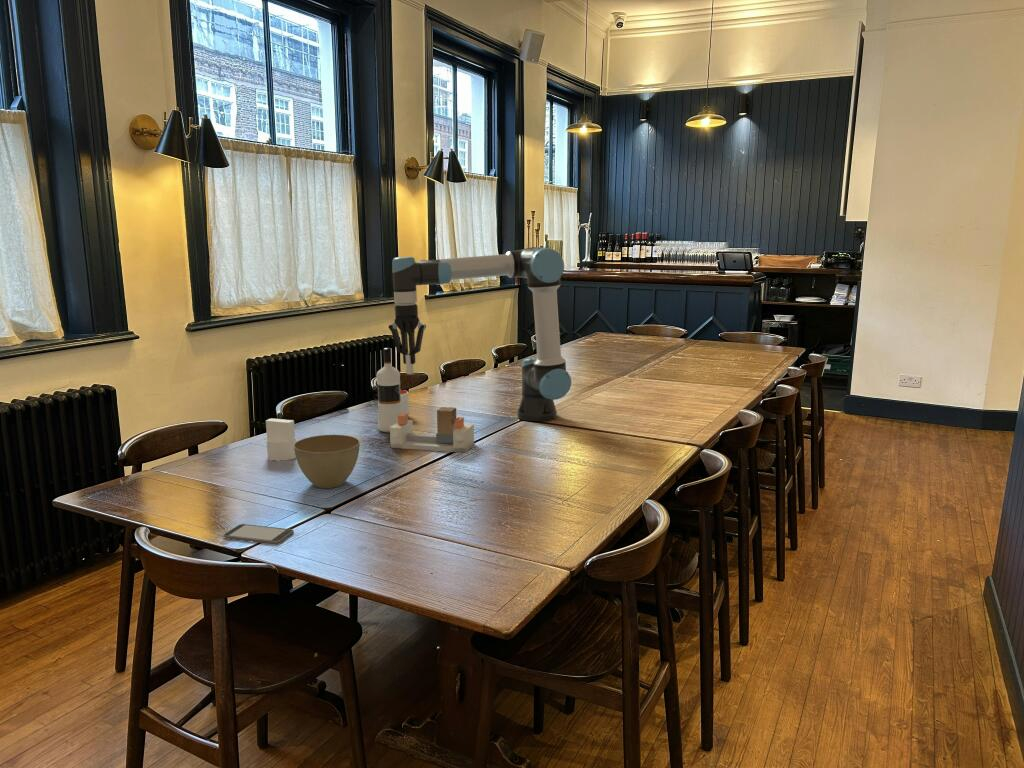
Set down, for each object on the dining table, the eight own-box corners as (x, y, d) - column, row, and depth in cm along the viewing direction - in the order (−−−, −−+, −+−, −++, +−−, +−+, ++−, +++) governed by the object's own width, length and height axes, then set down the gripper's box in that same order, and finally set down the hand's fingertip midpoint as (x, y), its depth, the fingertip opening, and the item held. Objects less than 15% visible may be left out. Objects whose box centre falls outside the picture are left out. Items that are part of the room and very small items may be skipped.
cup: (404, 421, 278) (403, 395, 276) (379, 420, 280) (377, 394, 278) (412, 415, 287) (411, 390, 285) (388, 413, 289) (387, 389, 287)
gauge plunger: (408, 421, 248) (407, 413, 248) (403, 424, 245) (403, 416, 244) (402, 421, 249) (402, 412, 248) (397, 424, 245) (397, 415, 244)
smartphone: (277, 542, 169) (221, 535, 173) (277, 546, 169) (222, 539, 173) (295, 529, 176) (240, 523, 180) (295, 533, 176) (241, 527, 180)
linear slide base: (474, 444, 247) (473, 415, 245) (464, 453, 238) (464, 423, 236) (402, 439, 254) (401, 411, 252) (390, 447, 244) (389, 418, 242)
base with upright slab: (302, 454, 238) (300, 418, 235) (285, 462, 230) (283, 425, 227) (279, 451, 241) (276, 416, 238) (261, 459, 232) (258, 422, 230)
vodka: (375, 427, 269) (371, 346, 263) (400, 425, 272) (397, 345, 266) (380, 434, 260) (376, 350, 254) (405, 431, 264) (402, 349, 257)
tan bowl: (328, 499, 198) (326, 456, 195) (282, 487, 207) (279, 445, 204) (374, 480, 213) (372, 439, 210) (329, 469, 222) (327, 431, 219)
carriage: (458, 439, 246) (457, 407, 244) (453, 443, 241) (452, 411, 239) (441, 438, 247) (440, 406, 245) (436, 442, 242) (435, 410, 240)
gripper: (428, 302, 247) (431, 371, 252) (392, 302, 250) (396, 370, 255) (420, 305, 239) (424, 375, 244) (383, 305, 242) (387, 375, 247)
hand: (410, 373), depth 250 cm, fingers closed
